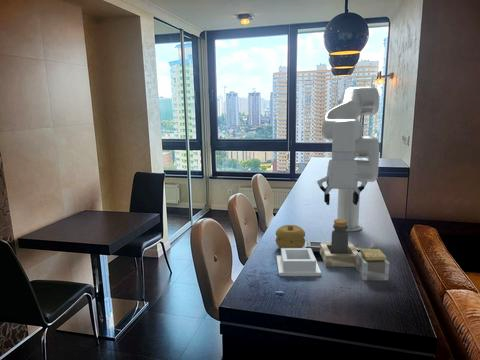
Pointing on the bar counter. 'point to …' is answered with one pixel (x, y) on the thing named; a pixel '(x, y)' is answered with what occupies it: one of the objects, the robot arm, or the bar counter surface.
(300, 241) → the pot
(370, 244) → the pliers
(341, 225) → the bottle
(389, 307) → the bar counter surface
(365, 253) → the button
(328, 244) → the socket block
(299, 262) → the cradle
